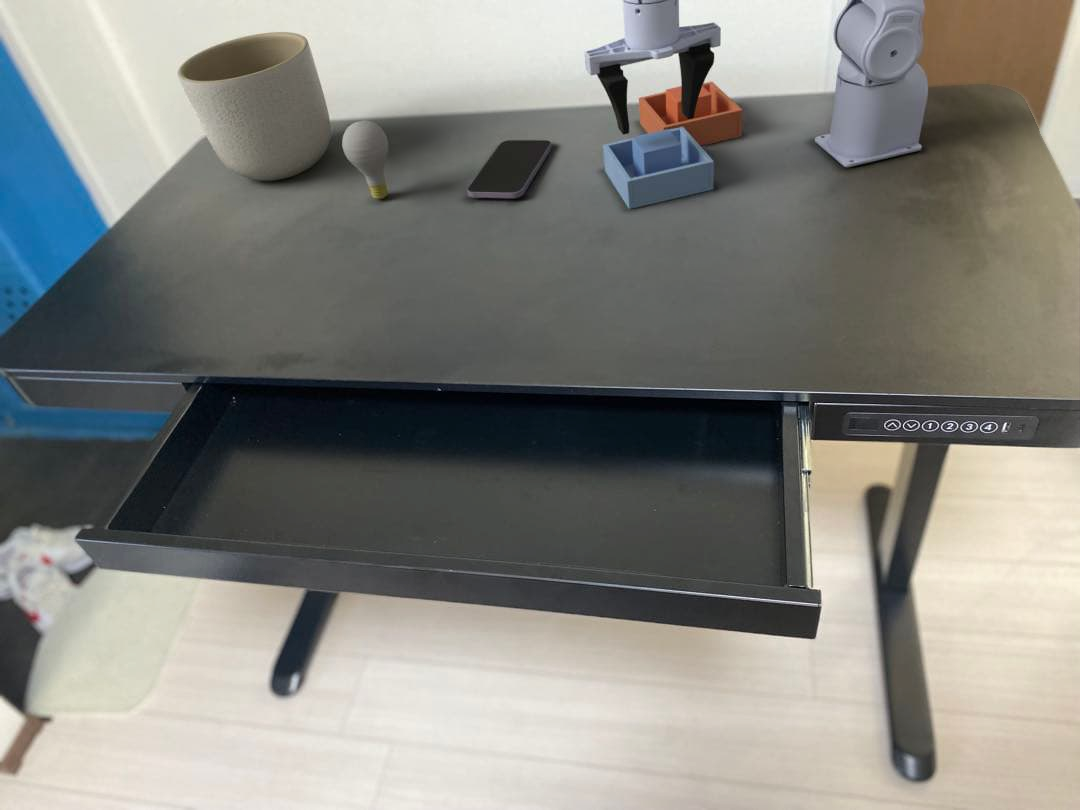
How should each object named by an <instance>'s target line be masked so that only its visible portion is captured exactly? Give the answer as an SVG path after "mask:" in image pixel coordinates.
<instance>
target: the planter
mask: <svg viewBox="0 0 1080 810" xmlns="http://www.w3.org/2000/svg"><path fill="white" fill-rule="evenodd" d="M177 76H178V79H179V81H180V83H181V86H182V88H183V90H184V93H185V94H186V97H187V99H188V101H189V103H190V105H191V107H192V109H193V112H194V114H195V116H196V118H197V120H198V122H199V124H200V126H201V128H202V130H203V132H204V134H205V136H206V138H207V140H208V142H209V143H210V147H212V149H213V151H214V153H215V154H216V155H217V157H218V159H219V160H220V161H221V163H223V165H225V166H226V167H227V168H228V169H229V170H231V172H233V173H235V174H236V175H239V176H240V177H244V178H247V179H250V180H254V181H260V182H272V181H278V180H279V181H280V180H284V179H288V178H291V177H295V176H296V175H299V174H301V173H304V172H306V171H307V170H309V169H311V167H313V166H314V165H315V164H317V163H318V161H320V159H321V158H322V157H323V155H324V154H325V152H326V151H327V149H328V147H329V144H330V141H331V135H332V127H331V119H330V113H329V108H328V104H327V101H326V98H325V94H324V90H323V86H322V84H321V80H320V77H319V73H318V70H317V65H316V63H315V60H314V56H313V52H312V50H311V46H310V44H309V41H308V39H307V38H306V37H305V36H304V35H302V34H299V33H296V32H290V31H289V32H288V31H272V32H262V33H257V34H250V35H246V36H241V37H237V38H234V39H230V40H226V41H224V42H221V43H218V44H215V45H213V46H210V47H207V48H206V49H203V50H201V51H199V52H198V53H195V54H194V55H192V56H190V57H189V58H188V59H186V60H185V61H184V62H183V63H182V64H181V65H180V66H179V68H178V70H177Z"/></svg>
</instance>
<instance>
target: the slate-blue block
mask: <svg viewBox="0 0 1080 810" xmlns="http://www.w3.org/2000/svg"><path fill="white" fill-rule="evenodd" d="M631 138H632V148H633V165H634V173H635V175H636V176H637V177H638V176H642V175H647V174H651V173H655V172H660V171H664V170H668V169H673V168H677V167H681V166H682V161H681V143H680V142H679V141H678V140H677V139H676V137H675V136H674V135H673V134H672V133H671V132H670V130H669V129H666V130H662V131H657V132H653V133H645V134H640V135H636V136H632V137H631Z"/></svg>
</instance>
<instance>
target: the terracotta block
mask: <svg viewBox="0 0 1080 810" xmlns="http://www.w3.org/2000/svg"><path fill="white" fill-rule="evenodd" d="M681 88H682V85H680V86H676V87H671V88H667V89H665V92H666V120H667V124H668V125H669V124H673V123H678V122H682V121H686V120H691V119H687V117H686V116H685V115H684V114H683V113H682V105H681ZM708 115H711V94H710V93H709V92H708V91H707V90H706V89H705V88H704V87H703V86H702V88H701V91H700V94H699V97H698V101H697V105H696V109H695V114H694V118H692V119H695V118H700V117H704V116H708Z"/></svg>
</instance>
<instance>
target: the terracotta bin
mask: <svg viewBox="0 0 1080 810" xmlns="http://www.w3.org/2000/svg"><path fill="white" fill-rule="evenodd" d="M702 86H703V87H704V88H705V89H706V90H707V91H708V92H709V93H710V94H711V115H708V116H704V117H700V118H695V119H691V120H686V121H682V122H678V123H673V124H669V125H668V124H667V120H666V91H663V92H658V93H655V94H650V95H646V96H641V97H638V108H639V109H638V110H639V112H638V113H639V114H638V115H639V124H640V125H641V126H642V128H643V129H644V131H645V132H646V134H648V133H653V132H657V131H662V130H666V129H669V130H670V129H674V128H679V127H684V128H685V129H686V131H687V132H688V133H689V134H690V135H691V136H692V137H693V139H694V140H695V141H696V142H697V143H698V144H699V145H700V146H701V147H702V146H706V145H710V144H715V143H719V142H723V141H728V140H732V139H733V140H734V139H736V138H741V137H742V136H743V135H742V131H743V109H742V108H741V107H740V106H739V105H738V104H737V103H736V102H735V101H734V100H733V99H731V97H730V96H728V94H727V93H725V92H724V91H723V90H722V89H721V88H720V87H719V86H718V85H716V84H715V83H714V82H713V81H707V82H704V83H703V85H702Z"/></svg>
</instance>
